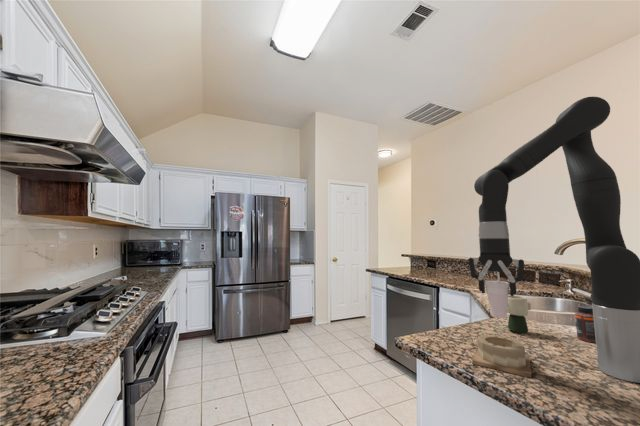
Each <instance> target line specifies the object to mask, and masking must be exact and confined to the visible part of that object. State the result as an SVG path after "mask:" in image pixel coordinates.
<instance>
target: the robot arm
mask: <svg viewBox="0 0 640 426" xmlns="http://www.w3.org/2000/svg"><path fill="white" fill-rule="evenodd" d="M610 113H611V105H610V104H609V102H608V101H607V100H605V99H604V98H602V97H600V96H587V97H586V96H585V97H583V98H581V99H578V100H577V101H575V102H574V103H572V104H571V105H570V106H569V107H567V108H566V109H565V110H563V111H562V112H561V113H560V114H559V115H558V116H557V117H556V120H555V122H554V123H553V124H552V125H551V126H550V127H548V128H546V130H544V131H543V132H541V133H539V134H538V135H537V136H535V137H533V139H530V140H528V142H526V143H525V144H523V145H521V146H520V147H518V148H517V149H516V150H514V151H513V152H512V153H510V154H509V155H507V156H506V158H504V159H503V160H501V161H500V163H498V164H496V165H495V166H494V167H492V168H490V169H489V170H488V171H486V172H484V173H483V174H482V175H480V176H478V178H477V179H476V180H475V182H474V185H473V187H474V190H475V192H476V194H478V195H479V196H482V197H481V198H482V199H481V203H480V205H479V207H478V221H479V223H478V224H479V226H478V237H479V239H478V240H479V243H478V244H479V257H470V258H468V264H469V271H470V276H471V278H474V279H476V280H477V281H478V290H479V291H480V292H481V294H486V285H484V281H485V279H484V278H485V277H486V274H487V273H488V272H491V273H492V272H493V273H494V272H496V273H497V272H499V273H504V274H505V276H506V277H507V278H508V280H509V283H510V287H509V295H511V296H515V295H516V294H517V283H518V282H523V281H524V274H525V273H524V270H525V269H524V267H525V261H524V260H523V259H522V258H521V259H515V258H512V256H511V249H510V247H511V246H510V245H511V244H510V233H509V226H508V221H507V220H508V219H507V208H506V206H507V202H508V196H509V195H508V194H509V186H510V185H509V184H510V183H511V182H513V181H514V180H515V179H518V178H520V177H522V176H523V175H525V174H526V173H528V172H529V171H530V170H532V169H533V168H534V167H536V166H537V165H539V164H540V163H542V162H543V161H544V160H545V159H547V158H548V157H549V156H550V155H552V154H554V153H555V152H556V151H557V150H558V149H559V148H561V147H562V151H563V154H564V157H565V162H566V167H567V171H568V175H569V180H570V186H571V191H572V196H573V201H574V203H575V207H576V208H575V209H576V210H577V214H578V217H579V219H580V222H581V225H582V228H583V234H584V241H585V261H586V265H587V267H588V269H589V270H590V281H591V294H590V298H591V307H592V308H593V317H594V327H595V337H596V343H595V344H596V346H595V347H596V355H597V364H598V365H597V366H598V370H599V371H601V372H602V373H604V374H606V375H608V376H610V377H614V378H616V379H619V380H622V381H626V382H631V383H637V384H640V258H639V256H638V255H637V254H636V253H635V252H633V251H632V250H630V249H628V248H627V246H626V243H625V240H624V237H623V234H622V231H621V223H620V222H621V204H622V202H621V201H622V200H621V191H620V187H619V182H618V179H617V178H618V177H617V175H616V172H615V171H614V169H613V168H612V167H611V166H610V165H609V163H607V161H605V160H604V159H603V158H602V157H601V156H600V155H599V154H598V152H597V151H596V149H595V147H594V143H593V138H592V131H593V130H595V129H596V128H598V127H600V126H601V125H602V124H603V123H604V122H605V121H606V120H607V119H608V117H609V116H610ZM478 262H479V263H480V264H481V265H482V266H483V267H482V270H481V272H480V273H479V274H478V273H477V268H476V265H477V264H478ZM512 263H513V264H514V265H515V267H517V268H518V269H517V276H515V277H514V275H513V274H512V272H511V271H510V269H509V267H510V266H511V265H512Z"/></svg>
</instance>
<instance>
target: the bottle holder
mask: <svg viewBox="0 0 640 426" xmlns="http://www.w3.org/2000/svg"><path fill="white" fill-rule="evenodd" d="M476 340H477V341H476V342H477V347H476V349H475V352H474V354H473V357H472V360H471V361H472V365H475V366H480V367H485V368H489V369H493V370H497V371H501V372H506V373H509V374H514V375H519V376H522V377H524V378H525V377H526V378H530V379H532V370H531V360H530V356H529V355H527V354H526V350H525V344H524V343H522V342H520V341H519V340H517V339H513V338H510V337H507V336H501V335H496V334H481V335H478V337H477V339H476Z"/></svg>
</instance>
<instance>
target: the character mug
mask: <svg viewBox="0 0 640 426" xmlns="http://www.w3.org/2000/svg"><path fill="white" fill-rule="evenodd" d="M531 310H532V307H531V302H530V301H528V298H527V297H526V296H521V295H514V296H511V295H510V294H508V305H507V314H509V315H508V321H507V322H508V323H507V329H508V330H511V331H513V332H514V331H515V333H517V332H518V333H522V334H523V333H524V334H527V333H528V332H529V327H528V323H527V320H526V317H525V316H529V311H531Z"/></svg>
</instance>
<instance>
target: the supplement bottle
mask: <svg viewBox="0 0 640 426" xmlns="http://www.w3.org/2000/svg"><path fill="white" fill-rule="evenodd" d="M574 318H575V319H574V321H575V328H576V329H575V330H576V337H577V339H579V340H580V341H583V342H587V343H593V344H594V343H595V344H596V337H595V327H594V317H593V308H592V306H587V305H577V311H576V312H575V313H574Z"/></svg>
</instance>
